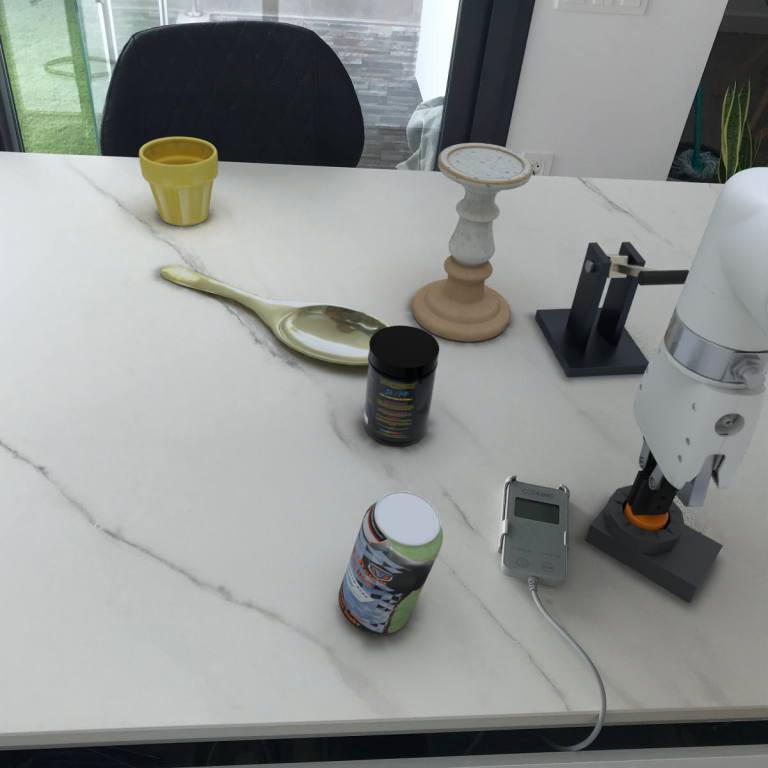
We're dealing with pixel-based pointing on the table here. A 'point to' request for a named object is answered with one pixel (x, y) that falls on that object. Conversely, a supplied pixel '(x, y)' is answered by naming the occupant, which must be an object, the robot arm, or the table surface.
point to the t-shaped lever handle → (644, 272)
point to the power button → (646, 520)
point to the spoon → (298, 320)
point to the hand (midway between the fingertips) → (646, 507)
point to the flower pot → (180, 177)
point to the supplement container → (400, 384)
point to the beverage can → (390, 562)
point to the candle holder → (471, 245)
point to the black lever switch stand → (596, 320)
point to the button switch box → (655, 546)
